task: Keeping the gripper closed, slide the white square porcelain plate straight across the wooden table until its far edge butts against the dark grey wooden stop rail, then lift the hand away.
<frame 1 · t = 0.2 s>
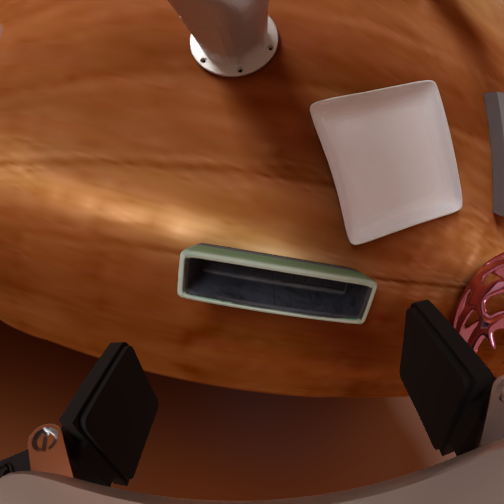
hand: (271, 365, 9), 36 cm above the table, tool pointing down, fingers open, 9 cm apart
spiral basket: (477, 295, 48), on the table
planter: (276, 270, 47), on the table
stop rail: (496, 153, 38), on the table
salad plate: (389, 157, 41), on the table
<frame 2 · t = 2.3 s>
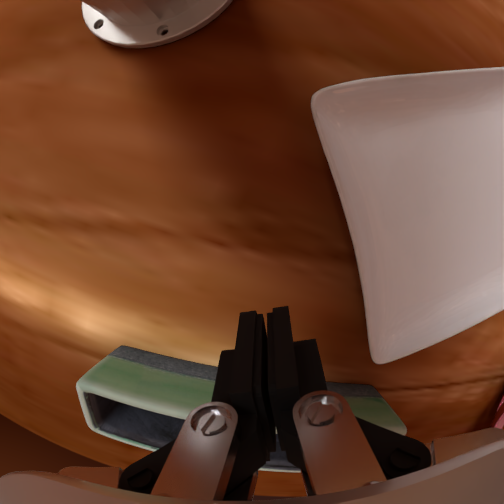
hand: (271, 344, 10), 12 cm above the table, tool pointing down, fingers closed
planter: (246, 388, 27), on the table
salad plate: (454, 203, 20), on the table
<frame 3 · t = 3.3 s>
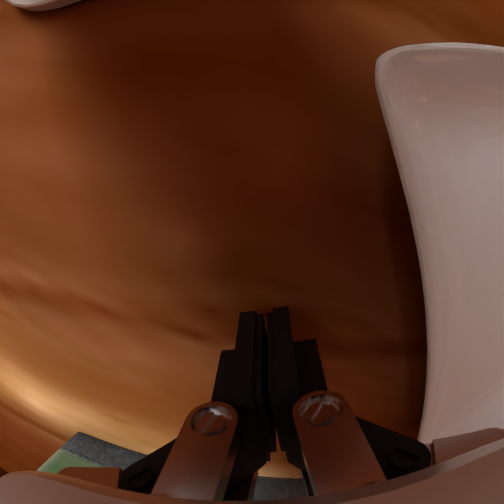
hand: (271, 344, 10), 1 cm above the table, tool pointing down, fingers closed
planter: (243, 484, 17), on the table
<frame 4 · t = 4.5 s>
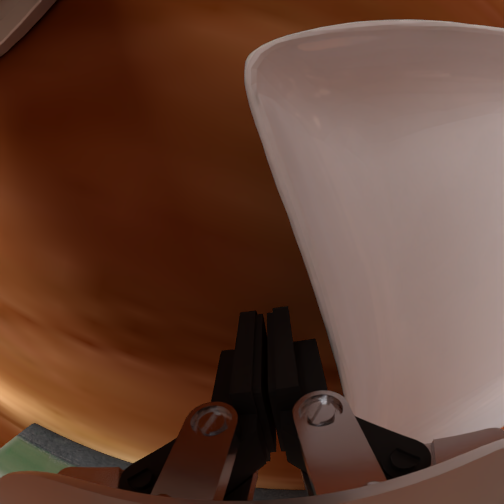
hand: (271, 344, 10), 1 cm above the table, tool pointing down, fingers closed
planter: (175, 483, 18), on the table
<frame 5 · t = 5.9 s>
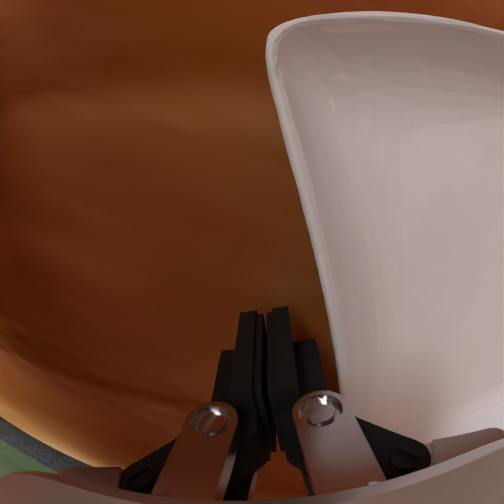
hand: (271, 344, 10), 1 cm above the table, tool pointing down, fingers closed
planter: (90, 471, 18), on the table
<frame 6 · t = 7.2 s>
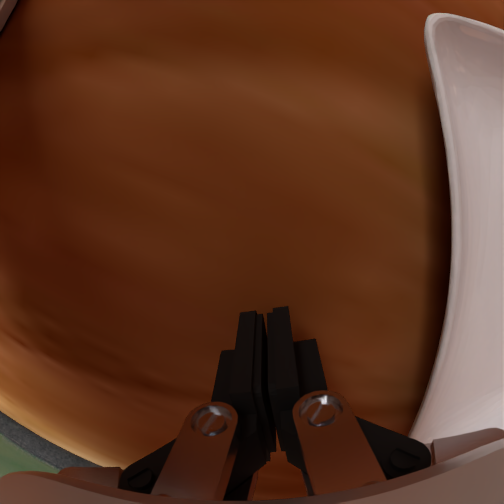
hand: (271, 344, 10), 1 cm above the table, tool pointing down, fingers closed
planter: (111, 476, 18), on the table
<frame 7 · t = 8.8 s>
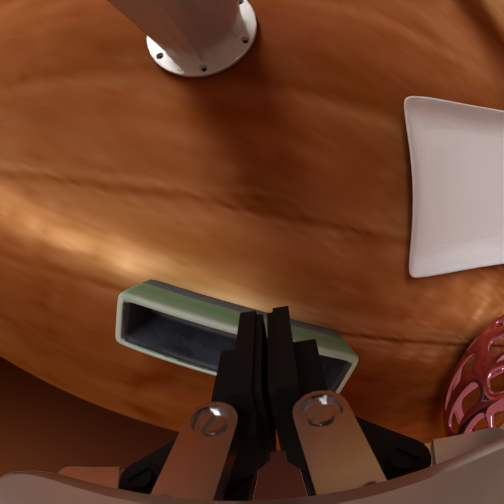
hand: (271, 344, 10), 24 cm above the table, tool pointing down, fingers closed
spiral basket: (479, 351, 39), on the table
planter: (239, 322, 38), on the table
salad plate: (465, 185, 31), on the table
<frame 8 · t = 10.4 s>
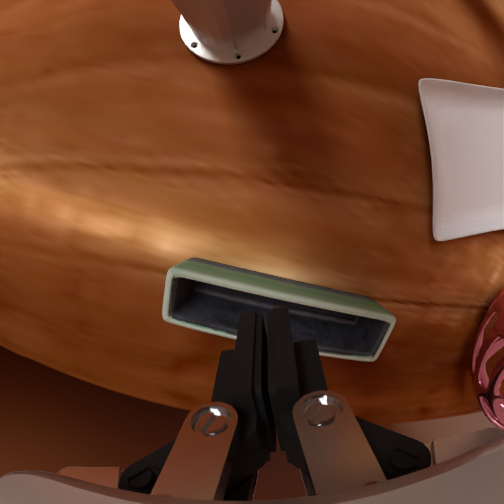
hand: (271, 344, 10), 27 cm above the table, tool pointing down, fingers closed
spiral basket: (497, 315, 40), on the table
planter: (280, 294, 40), on the table
salad plate: (474, 157, 33), on the table
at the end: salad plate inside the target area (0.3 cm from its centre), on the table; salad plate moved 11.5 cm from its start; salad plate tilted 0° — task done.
